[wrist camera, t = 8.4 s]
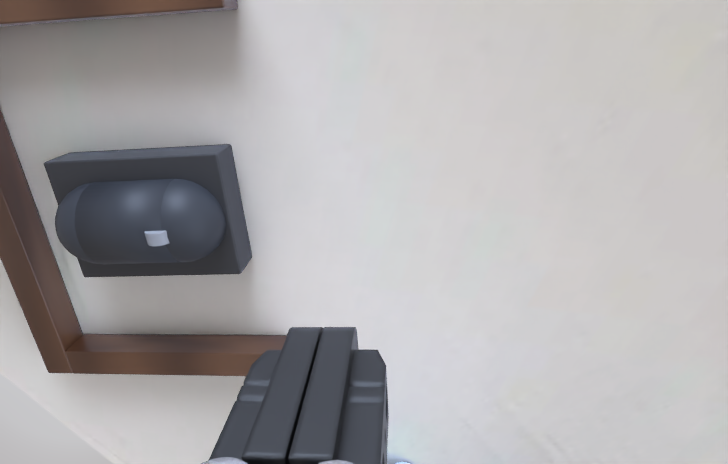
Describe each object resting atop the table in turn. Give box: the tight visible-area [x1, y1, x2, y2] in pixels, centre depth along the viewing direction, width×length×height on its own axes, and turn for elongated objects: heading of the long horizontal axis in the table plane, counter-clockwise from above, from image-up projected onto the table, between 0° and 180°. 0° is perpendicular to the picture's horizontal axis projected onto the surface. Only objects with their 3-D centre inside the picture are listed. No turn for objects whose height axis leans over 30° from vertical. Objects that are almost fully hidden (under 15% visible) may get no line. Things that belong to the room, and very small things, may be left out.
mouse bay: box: [0, 0, 287, 376], centre depth 22 cm, size 14×19×2 cm
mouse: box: [44, 144, 252, 277], centre depth 21 cm, size 8×6×4 cm
